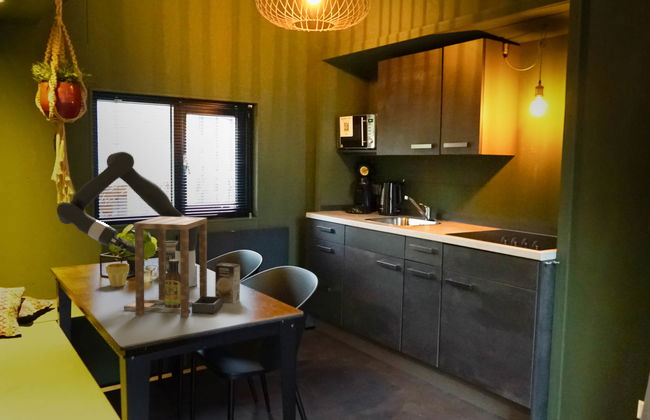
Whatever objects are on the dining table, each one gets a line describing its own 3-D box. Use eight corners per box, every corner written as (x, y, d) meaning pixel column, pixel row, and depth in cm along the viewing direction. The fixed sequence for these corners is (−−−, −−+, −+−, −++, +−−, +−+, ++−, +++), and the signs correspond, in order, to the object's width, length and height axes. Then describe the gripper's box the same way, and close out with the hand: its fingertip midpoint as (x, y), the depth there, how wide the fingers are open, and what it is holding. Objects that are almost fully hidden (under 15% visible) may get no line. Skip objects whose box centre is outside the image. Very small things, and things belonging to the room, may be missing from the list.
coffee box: (214, 301, 236) (214, 264, 234) (221, 298, 242) (221, 262, 240) (233, 304, 233) (233, 266, 231) (240, 300, 239) (240, 263, 237)
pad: (124, 309, 222) (124, 308, 222) (135, 302, 232) (134, 301, 232) (145, 310, 221) (145, 309, 221) (155, 303, 231) (155, 302, 231)
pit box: (191, 313, 218) (191, 303, 218) (201, 305, 230) (201, 295, 230) (213, 314, 217) (213, 304, 217) (222, 306, 229) (222, 296, 229)
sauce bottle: (162, 309, 222) (161, 260, 220) (168, 305, 228) (168, 258, 227) (177, 310, 221) (177, 261, 220) (183, 306, 228) (183, 258, 226)
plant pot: (118, 288, 256) (118, 267, 255) (101, 286, 260) (100, 265, 259) (134, 284, 266) (133, 264, 265) (117, 281, 270) (116, 262, 269)
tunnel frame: (116, 314, 214) (114, 222, 211) (143, 298, 239) (142, 215, 236) (186, 317, 212) (186, 224, 208) (207, 301, 236) (207, 217, 233)
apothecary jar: (154, 276, 282) (153, 242, 281) (171, 272, 293) (171, 239, 291) (170, 279, 276) (170, 244, 274) (188, 275, 286) (188, 241, 285)
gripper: (103, 223, 220) (139, 244, 221) (112, 226, 234) (146, 245, 235) (92, 240, 218) (129, 260, 219) (102, 241, 232) (136, 260, 233)
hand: (138, 252), depth 227 cm, fingers open, 8 cm apart
